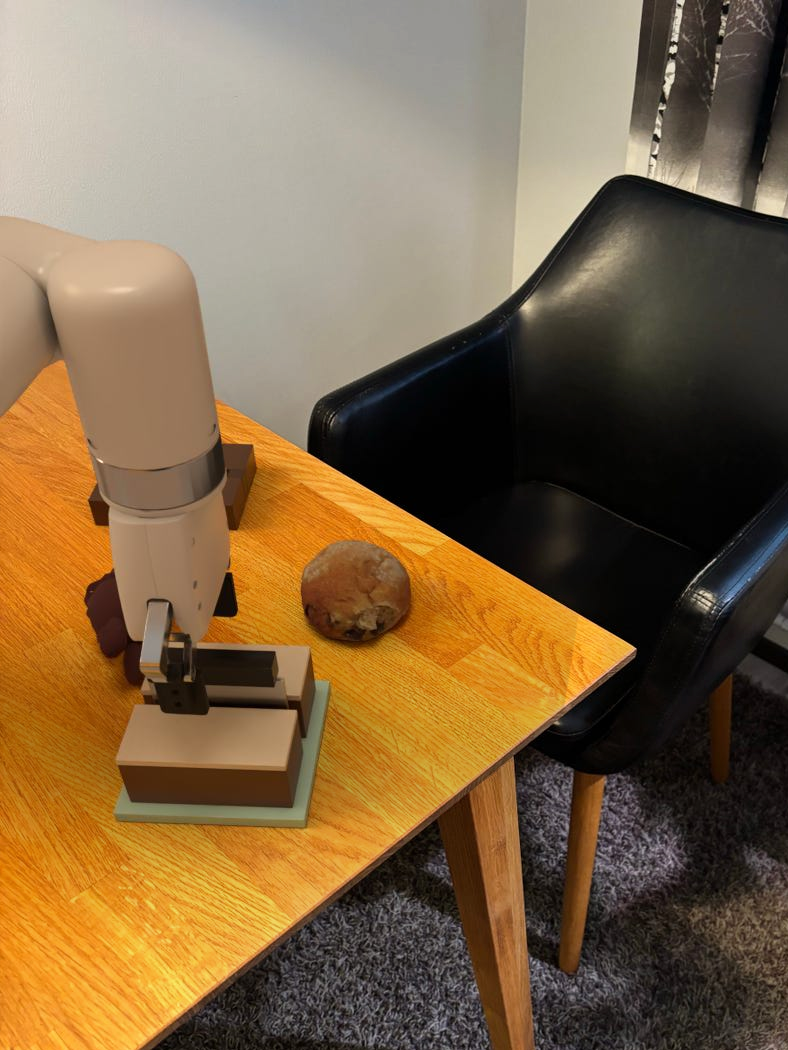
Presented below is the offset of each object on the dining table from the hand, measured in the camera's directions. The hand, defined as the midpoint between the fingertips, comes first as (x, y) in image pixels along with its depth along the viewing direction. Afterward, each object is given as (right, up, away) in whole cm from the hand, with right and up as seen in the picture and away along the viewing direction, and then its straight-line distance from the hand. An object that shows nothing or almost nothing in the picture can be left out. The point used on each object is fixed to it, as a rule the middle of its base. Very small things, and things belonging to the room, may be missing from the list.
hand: (202, 660), depth 72 cm
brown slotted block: (-11, +16, +31) cm, 36 cm away
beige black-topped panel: (0, -7, +6) cm, 9 cm away
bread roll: (+9, +4, +19) cm, 22 cm away
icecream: (-10, +2, +17) cm, 20 cm away
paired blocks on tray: (0, -7, +7) cm, 10 cm away
